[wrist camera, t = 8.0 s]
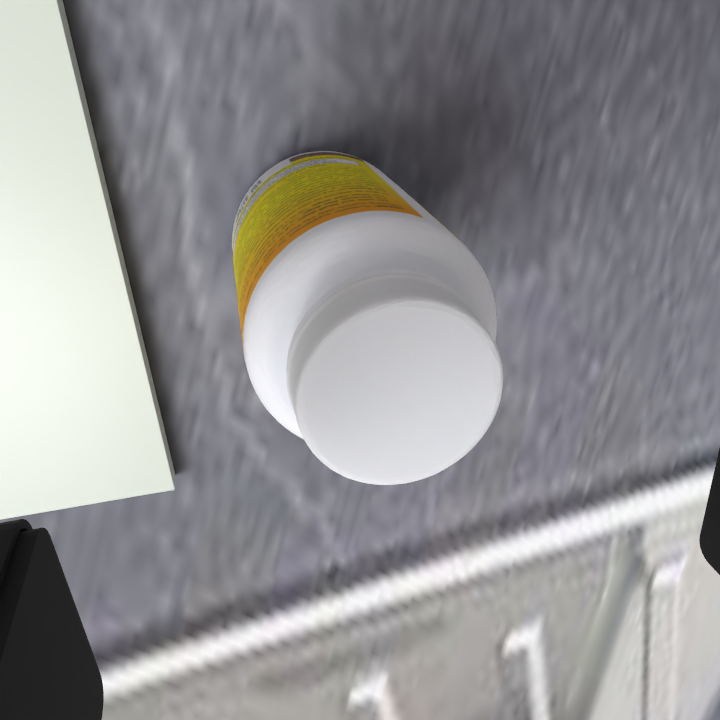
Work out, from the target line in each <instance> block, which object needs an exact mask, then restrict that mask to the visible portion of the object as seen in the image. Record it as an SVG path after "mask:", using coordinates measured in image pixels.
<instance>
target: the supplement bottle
mask: <svg viewBox="0 0 720 720" xmlns="http://www.w3.org/2000/svg"><path fill="white" fill-rule="evenodd" d="M232 255H233V262H234V272H235V280H236V288H237V298H238V307H239V316H240V325H241V333H242V342H243V352H244V357H245V362H246V366H247V370H248V373H249V377H250V380H251V383H252V385H253V387H254V389H255V391H256V393H257V395H258V397H259V398H260V400H261V402H262V403H263V405H264V406H265V407H266V409H267V410H268V411H269V412H270V413H271V415H272V416H273V417H274V418H275V419H276V420H277V421H278V422H279V423H281V424H282V425H283V426H284V427H285V428H287V429H288V430H289V431H291V432H292V433H294V434H295V435H297V436H299V437H301V438H302V439H304V440H305V442H306V444H307V445H308V446H309V448H310V449H311V451H312V452H313V453H314V454H315V455H316V456H317V458H318V459H319V460H320V461H322V462H323V463H324V464H325V465H326V466H328V467H329V468H330V469H332V470H333V471H335V472H337V473H339V474H341V475H343V476H345V477H346V478H349V479H353V480H356V481H359V482H364V483H369V484H378V485H392V484H404V483H409V482H413V481H417V480H420V479H424V478H427V477H429V476H432V475H434V474H436V473H438V472H440V471H442V470H444V469H446V468H447V467H449V466H451V465H452V464H454V463H455V462H457V461H458V460H459V459H461V458H462V457H463V456H465V455H466V454H467V453H468V452H469V451H470V450H471V449H472V448H473V447H474V446H475V445H476V444H477V443H478V441H479V440H480V439H481V438H482V436H483V435H484V433H485V432H486V431H487V429H488V428H489V426H490V424H491V422H492V420H493V418H494V417H495V414H496V411H497V409H498V406H499V403H500V399H501V395H502V388H503V369H502V362H501V358H500V353H499V351H498V348H497V346H496V343H495V342H496V333H497V313H496V305H495V300H494V296H493V293H492V289H491V286H490V283H489V281H488V279H487V276H486V274H485V272H484V270H483V268H482V267H481V265H480V264H479V262H478V261H477V260H476V258H475V257H474V255H473V254H472V253H471V252H470V251H469V249H468V248H467V247H466V246H465V245H464V244H463V243H462V241H461V240H460V239H459V238H457V237H456V236H455V235H454V234H453V233H452V232H451V231H449V230H448V229H447V228H446V227H445V226H444V225H443V224H442V223H440V222H439V221H438V220H437V219H436V218H435V217H433V216H432V215H431V214H430V213H429V212H428V211H426V210H425V209H424V208H423V207H422V206H421V205H420V204H419V203H418V202H416V201H415V200H414V199H413V198H412V197H411V196H409V195H408V194H407V193H406V192H405V191H404V190H403V189H401V188H400V187H399V186H398V185H397V184H396V183H394V182H393V181H392V180H391V179H390V178H388V177H387V176H386V175H385V174H384V173H382V172H381V171H380V170H379V169H377V168H376V167H374V166H373V165H371V164H370V163H368V162H366V161H364V160H362V159H360V158H357V157H355V156H352V155H349V154H345V153H340V152H333V151H317V152H307V153H302V154H298V155H295V156H292V157H290V158H287V159H285V160H283V161H281V162H279V163H278V164H276V165H274V166H273V167H271V168H270V169H269V170H267V171H266V172H265V173H264V174H263V175H261V176H260V177H259V178H258V179H257V181H256V182H255V183H254V184H253V185H252V186H251V188H250V189H249V190H248V192H247V194H246V195H245V197H244V198H243V200H242V202H241V204H240V207H239V209H238V212H237V215H236V218H235V222H234V227H233V234H232Z"/></svg>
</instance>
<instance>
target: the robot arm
mask: <svg viewBox="0 0 720 720" xmlns="http://www.w3.org/2000/svg"><path fill="white" fill-rule="evenodd" d="M700 547H701V550H702V553H703V555H704V557H705V559H706V560H707V562H708V563H709V564H710V565H711V566H712V567H713V568H714V569H715V570H716V571H717V573H718V574H719V575H720V449H719V453H718V458H717V462H716V467H715V471H714V476H713V480H712V485H711V489H710V494H709V498H708V502H707V507H706V511H705V516H704V520H703V525H702V529H701V534H700ZM102 711H103V684H102V678H101V675H100V672H99V669H98V666H97V663H96V661H95V658H94V655H93V652H92V650H91V647H90V644H89V641H88V639H87V636H86V633H85V630H84V628H83V625H82V622H81V619H80V617H79V614H78V611H77V608H76V606H75V603H74V600H73V597H72V595H71V592H70V589H69V586H68V584H67V581H66V578H65V575H64V573H63V570H62V567H61V564H60V562H59V559H58V556H57V553H56V551H55V548H54V545H53V543H52V540H51V537H50V535H49V533H48V531H47V530H46V529H45V528H38V529H32V527H31V525H30V524H29V522H28V521H27V520H24V519H20V520H15V521H9V522H4V523H0V720H101V719H102Z"/></svg>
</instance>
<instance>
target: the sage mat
mask: <svg viewBox="0 0 720 720" xmlns="http://www.w3.org/2000/svg"><path fill="white" fill-rule="evenodd" d="M175 477H176V476H175V471H174V467H173V463H172V459H171V455H170V450H169V446H168V442H167V438H166V434H165V429H164V425H163V421H162V417H161V412H160V408H159V404H158V400H157V396H156V391H155V387H154V383H153V379H152V375H151V370H150V366H149V362H148V358H147V354H146V349H145V345H144V341H143V337H142V332H141V328H140V324H139V320H138V316H137V311H136V307H135V303H134V299H133V295H132V290H131V286H130V282H129V278H128V274H127V269H126V265H125V261H124V257H123V253H122V248H121V244H120V240H119V236H118V231H117V227H116V223H115V219H114V215H113V210H112V206H111V202H110V198H109V194H108V189H107V185H106V181H105V177H104V173H103V168H102V164H101V160H100V156H99V151H98V147H97V143H96V139H95V135H94V130H93V126H92V122H91V118H90V114H89V109H88V105H87V101H86V97H85V93H84V88H83V84H82V80H81V76H80V72H79V67H78V63H77V59H76V55H75V50H74V46H73V42H72V38H71V34H70V29H69V25H68V21H67V17H66V13H65V8H64V4H63V0H0V519H6V518H12V517H18V516H24V515H29V514H35V513H41V512H47V511H53V510H59V509H64V508H70V507H76V506H82V505H88V504H94V503H99V502H105V501H111V500H117V499H123V498H129V497H134V496H140V495H146V494H152V493H158V492H164V491H169V490H175Z"/></svg>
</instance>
